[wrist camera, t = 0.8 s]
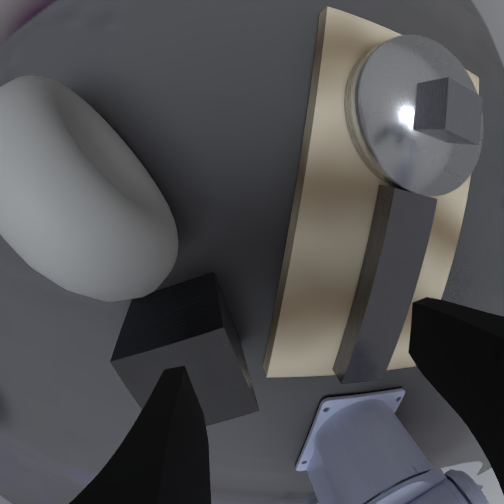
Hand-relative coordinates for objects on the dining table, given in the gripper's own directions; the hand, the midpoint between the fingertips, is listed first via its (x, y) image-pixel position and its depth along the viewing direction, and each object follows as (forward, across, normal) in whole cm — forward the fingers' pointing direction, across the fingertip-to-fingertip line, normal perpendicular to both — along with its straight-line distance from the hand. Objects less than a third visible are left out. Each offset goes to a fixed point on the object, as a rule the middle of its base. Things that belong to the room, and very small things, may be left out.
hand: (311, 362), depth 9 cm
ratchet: (+8, -8, -1) cm, 12 cm away
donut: (+10, +6, -6) cm, 13 cm away
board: (+10, -8, -1) cm, 13 cm away
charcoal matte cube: (+10, +4, +3) cm, 11 cm away
